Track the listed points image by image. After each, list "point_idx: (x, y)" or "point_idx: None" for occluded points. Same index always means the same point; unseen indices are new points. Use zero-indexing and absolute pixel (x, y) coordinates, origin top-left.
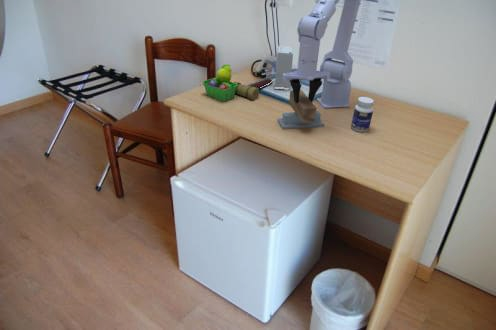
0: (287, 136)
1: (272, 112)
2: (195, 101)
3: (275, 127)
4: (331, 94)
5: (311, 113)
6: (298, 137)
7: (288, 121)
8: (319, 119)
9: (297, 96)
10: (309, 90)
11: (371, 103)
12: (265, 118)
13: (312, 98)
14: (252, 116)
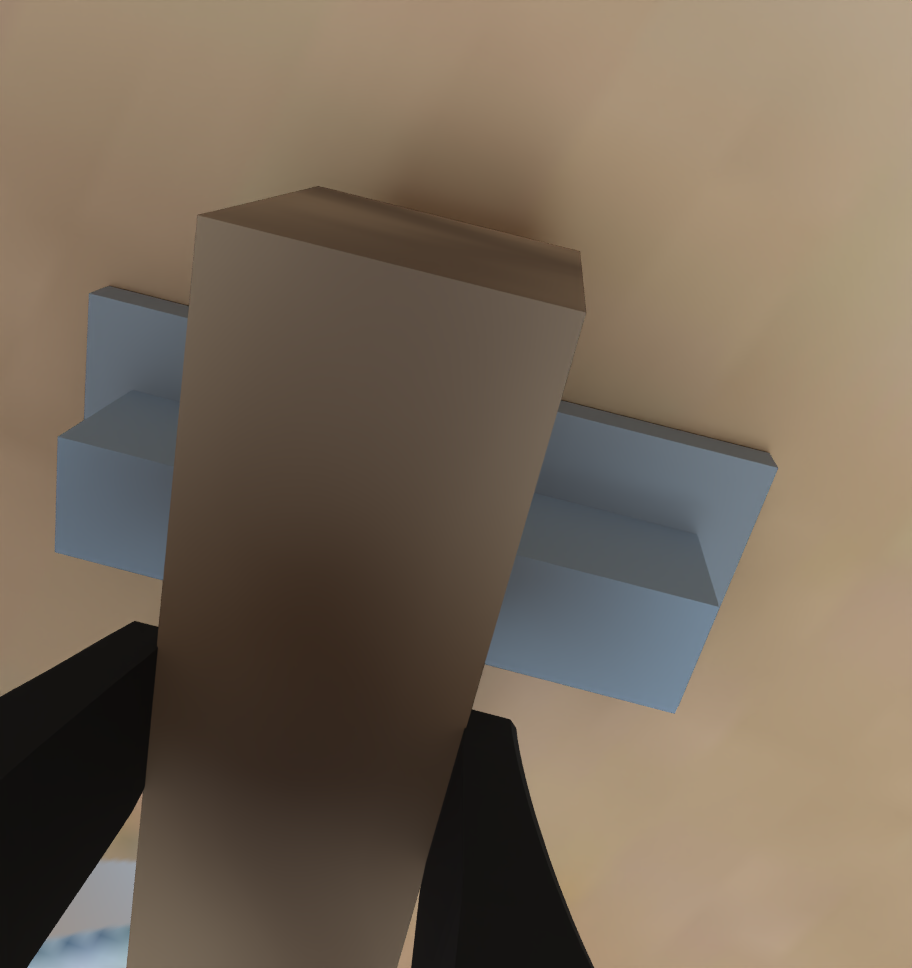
0: (854, 213)
1: (590, 878)
2: None
3: (826, 543)
4: None
5: (371, 229)
6: (705, 106)
7: (635, 538)
8: (121, 404)
9: (510, 840)
10: (28, 948)
11: None
12: (778, 797)
13: (90, 668)
14: (900, 897)
